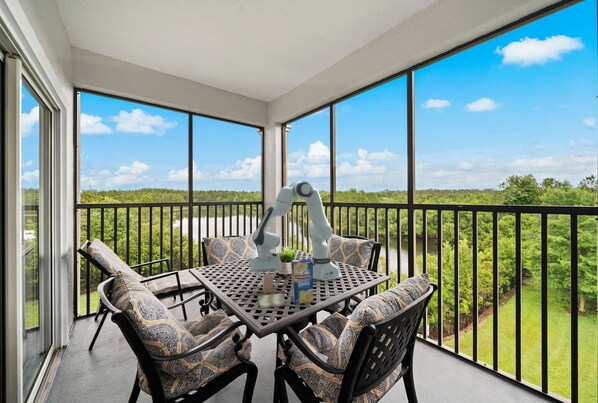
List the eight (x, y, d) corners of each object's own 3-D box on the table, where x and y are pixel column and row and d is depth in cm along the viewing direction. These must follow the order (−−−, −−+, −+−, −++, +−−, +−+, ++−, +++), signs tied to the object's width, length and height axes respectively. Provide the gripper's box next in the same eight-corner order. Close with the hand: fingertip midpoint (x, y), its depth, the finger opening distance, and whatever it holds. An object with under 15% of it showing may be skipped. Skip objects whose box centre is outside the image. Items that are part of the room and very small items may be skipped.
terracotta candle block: (271, 289, 161) (271, 273, 161) (273, 292, 156) (272, 276, 155) (263, 290, 160) (262, 274, 159) (264, 293, 154) (263, 277, 154)
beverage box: (291, 298, 147) (291, 260, 146) (310, 296, 149) (309, 259, 148) (294, 303, 140) (293, 264, 139) (313, 301, 142) (313, 262, 142)
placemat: (281, 295, 152) (281, 293, 152) (286, 305, 138) (286, 303, 138) (257, 297, 148) (257, 295, 148) (260, 308, 135) (260, 306, 135)
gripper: (249, 256, 163) (250, 276, 154) (280, 254, 168) (283, 273, 159) (248, 261, 168) (249, 280, 159) (279, 259, 173) (282, 278, 164)
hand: (267, 277), depth 159 cm, fingers open, 8 cm apart
